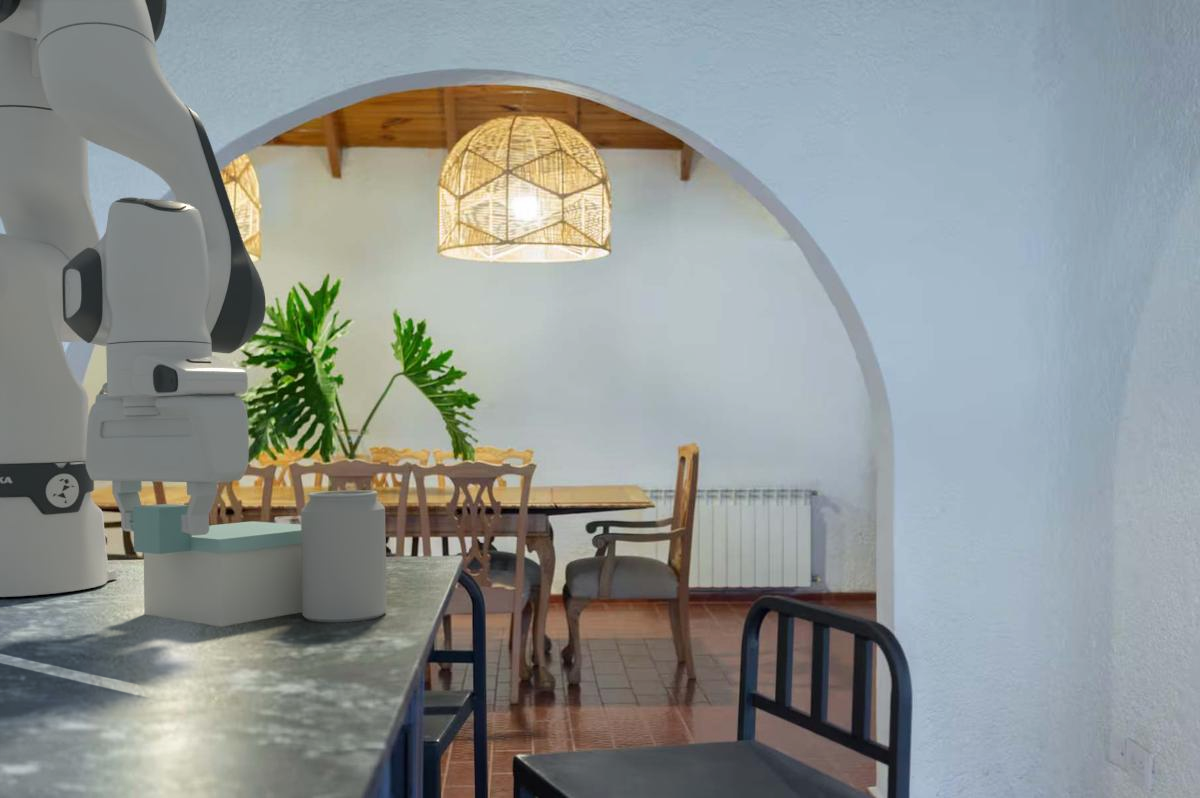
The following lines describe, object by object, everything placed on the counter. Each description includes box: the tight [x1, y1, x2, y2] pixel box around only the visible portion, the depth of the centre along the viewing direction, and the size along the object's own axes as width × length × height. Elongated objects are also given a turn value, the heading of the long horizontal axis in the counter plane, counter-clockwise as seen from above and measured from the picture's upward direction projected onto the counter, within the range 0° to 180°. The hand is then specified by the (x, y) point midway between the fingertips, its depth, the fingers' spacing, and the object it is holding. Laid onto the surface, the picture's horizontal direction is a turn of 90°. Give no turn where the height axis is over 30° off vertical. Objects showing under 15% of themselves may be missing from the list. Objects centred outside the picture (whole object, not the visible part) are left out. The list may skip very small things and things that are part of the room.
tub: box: [143, 543, 302, 628], centre depth 110 cm, size 12×12×7 cm
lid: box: [133, 503, 301, 554], centre depth 109 cm, size 13×16×5 cm
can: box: [300, 489, 388, 624], centre depth 106 cm, size 8×8×12 cm
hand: (164, 532), depth 104 cm, fingers open, 8 cm apart
